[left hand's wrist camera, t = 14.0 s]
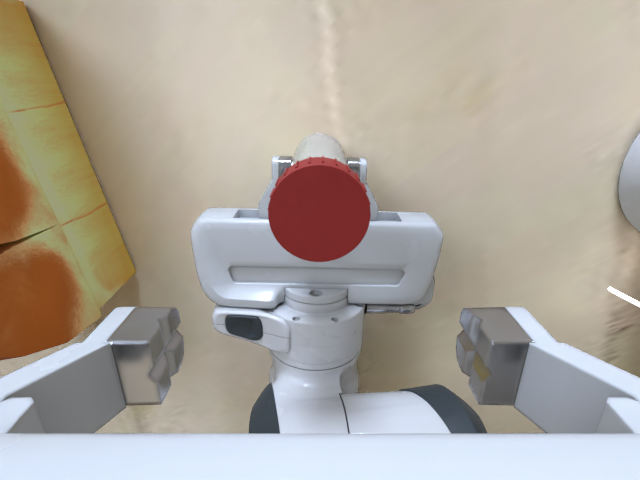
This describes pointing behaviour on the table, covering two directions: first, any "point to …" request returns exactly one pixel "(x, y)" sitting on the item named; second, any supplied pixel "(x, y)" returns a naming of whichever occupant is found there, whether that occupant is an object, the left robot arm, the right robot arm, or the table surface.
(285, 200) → the lid
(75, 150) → the bread
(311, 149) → the white cylindrical bottle
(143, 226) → the table surface
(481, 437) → the left robot arm
